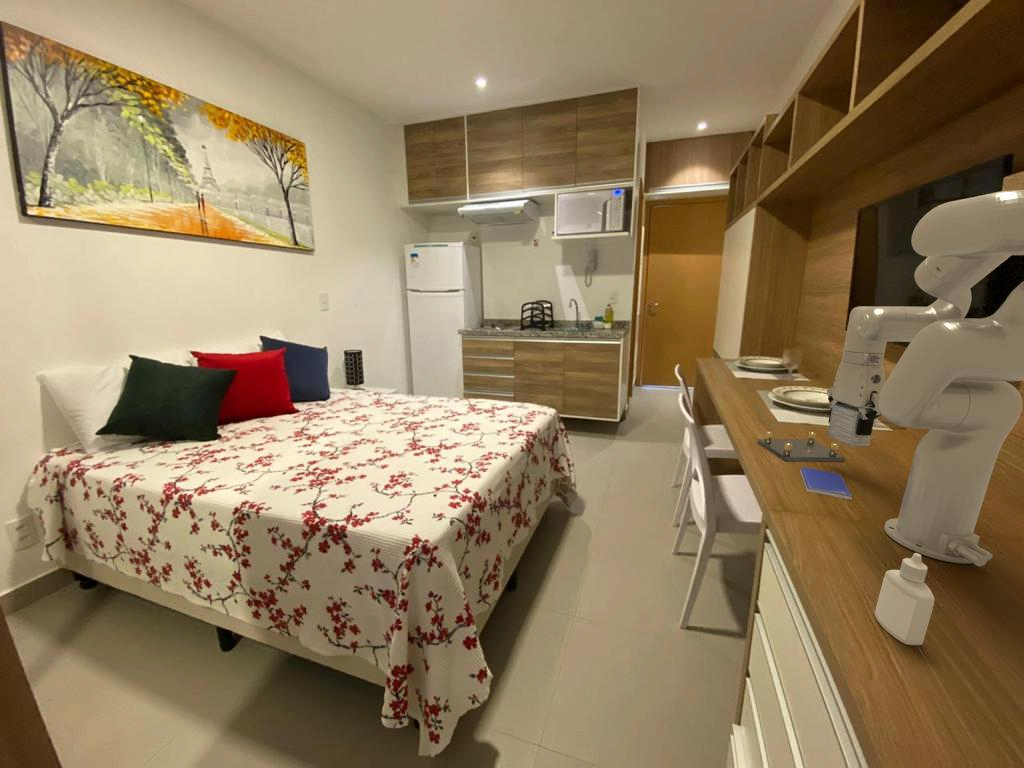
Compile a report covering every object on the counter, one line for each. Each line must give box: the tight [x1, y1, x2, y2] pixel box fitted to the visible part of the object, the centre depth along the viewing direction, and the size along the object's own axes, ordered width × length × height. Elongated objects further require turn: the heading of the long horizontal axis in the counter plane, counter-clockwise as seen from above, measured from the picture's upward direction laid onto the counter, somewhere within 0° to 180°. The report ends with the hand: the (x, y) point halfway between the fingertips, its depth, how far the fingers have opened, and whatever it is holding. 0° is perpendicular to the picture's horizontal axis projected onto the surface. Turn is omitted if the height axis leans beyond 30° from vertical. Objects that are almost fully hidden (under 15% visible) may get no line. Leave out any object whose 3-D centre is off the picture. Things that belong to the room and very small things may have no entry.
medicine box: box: [827, 404, 872, 447], centre depth 102 cm, size 8×4×9 cm, turn 0°
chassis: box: [756, 430, 846, 463], centre depth 117 cm, size 13×16×4 cm
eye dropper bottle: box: [874, 552, 936, 646], centre depth 56 cm, size 4×6×12 cm
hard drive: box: [799, 467, 853, 501], centre depth 99 cm, size 2×8×12 cm
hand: (848, 428), depth 103 cm, fingers closed on medicine box, 8 cm apart
